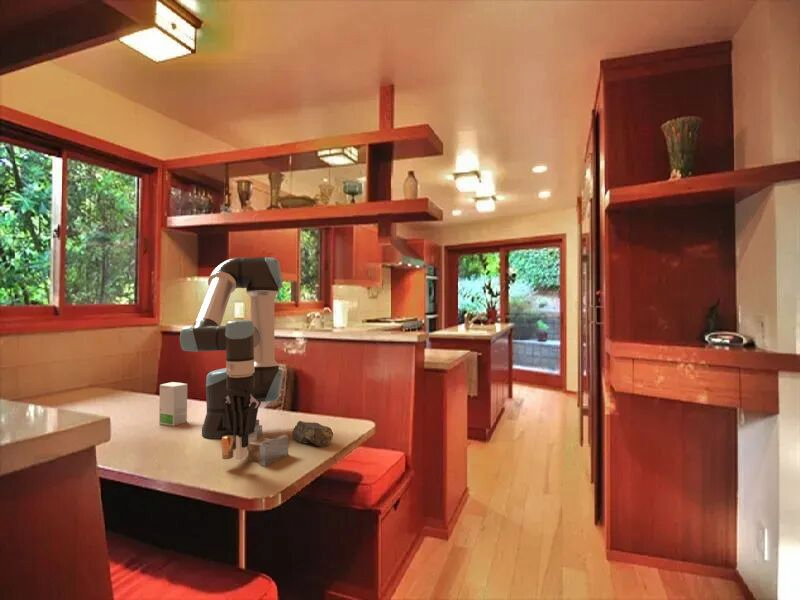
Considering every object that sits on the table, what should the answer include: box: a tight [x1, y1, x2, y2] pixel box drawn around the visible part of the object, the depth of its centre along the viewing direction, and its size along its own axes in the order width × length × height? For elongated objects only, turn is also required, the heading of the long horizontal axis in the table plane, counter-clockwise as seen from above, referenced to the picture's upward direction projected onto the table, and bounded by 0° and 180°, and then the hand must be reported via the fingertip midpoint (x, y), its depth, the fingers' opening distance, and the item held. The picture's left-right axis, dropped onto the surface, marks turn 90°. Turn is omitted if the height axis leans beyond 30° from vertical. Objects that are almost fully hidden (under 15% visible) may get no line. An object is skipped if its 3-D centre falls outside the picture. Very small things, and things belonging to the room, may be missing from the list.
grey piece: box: [247, 434, 289, 467], centre depth 138 cm, size 21×16×6 cm
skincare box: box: [158, 381, 188, 427], centre depth 171 cm, size 8×7×16 cm
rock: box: [291, 420, 334, 448], centre depth 147 cm, size 17×7×10 cm
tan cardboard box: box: [248, 437, 273, 463], centre depth 133 cm, size 5×6×5 cm
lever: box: [221, 419, 263, 460], centre depth 135 cm, size 7×23×6 cm, turn 178°
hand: (241, 457), depth 122 cm, fingers closed
